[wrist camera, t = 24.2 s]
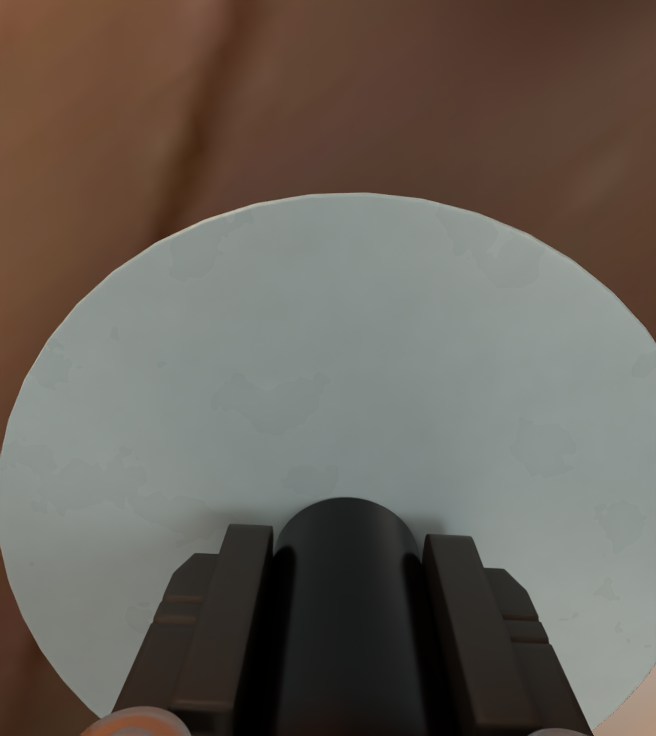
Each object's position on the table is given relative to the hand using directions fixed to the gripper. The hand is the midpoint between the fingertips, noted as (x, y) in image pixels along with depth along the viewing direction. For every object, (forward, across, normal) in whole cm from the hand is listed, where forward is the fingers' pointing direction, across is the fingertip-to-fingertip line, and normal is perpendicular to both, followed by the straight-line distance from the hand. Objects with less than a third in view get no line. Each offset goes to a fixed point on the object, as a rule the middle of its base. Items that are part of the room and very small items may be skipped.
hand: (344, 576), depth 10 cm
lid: (+1, 0, 0) cm, 1 cm away
